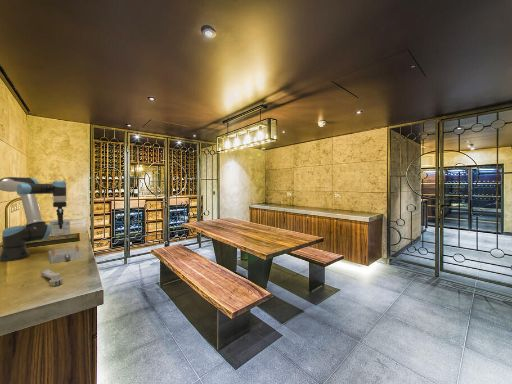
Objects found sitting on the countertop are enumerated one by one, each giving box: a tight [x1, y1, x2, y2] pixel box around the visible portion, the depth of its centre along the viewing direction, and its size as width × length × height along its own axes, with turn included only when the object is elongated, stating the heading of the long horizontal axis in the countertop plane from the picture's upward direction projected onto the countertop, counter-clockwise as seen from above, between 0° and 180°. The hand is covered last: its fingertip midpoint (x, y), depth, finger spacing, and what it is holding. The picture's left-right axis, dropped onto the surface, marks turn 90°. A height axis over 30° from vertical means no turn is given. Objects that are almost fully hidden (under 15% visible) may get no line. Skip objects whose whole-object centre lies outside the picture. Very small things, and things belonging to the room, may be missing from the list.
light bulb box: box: [49, 218, 71, 237], centre depth 167 cm, size 11×7×11 cm, turn 142°
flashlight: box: [40, 268, 63, 287], centre depth 129 cm, size 5×7×25 cm
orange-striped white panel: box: [47, 243, 84, 264], centre depth 169 cm, size 23×18×8 cm
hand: (60, 232), depth 168 cm, fingers closed on light bulb box, 7 cm apart
